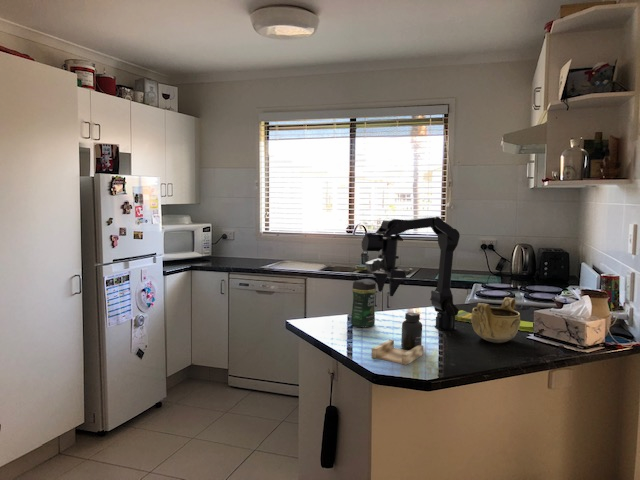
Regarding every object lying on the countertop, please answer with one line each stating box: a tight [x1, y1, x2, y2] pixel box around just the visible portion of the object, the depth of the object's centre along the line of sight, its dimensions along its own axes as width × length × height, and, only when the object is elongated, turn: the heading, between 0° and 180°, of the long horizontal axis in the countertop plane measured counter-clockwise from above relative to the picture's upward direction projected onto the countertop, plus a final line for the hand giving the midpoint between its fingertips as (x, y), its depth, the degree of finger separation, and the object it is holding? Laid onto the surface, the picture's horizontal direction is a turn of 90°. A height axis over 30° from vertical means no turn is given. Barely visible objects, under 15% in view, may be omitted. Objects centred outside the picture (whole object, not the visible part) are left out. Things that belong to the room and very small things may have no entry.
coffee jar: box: [350, 278, 377, 328], centre depth 207 cm, size 10×8×19 cm
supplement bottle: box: [400, 311, 423, 351], centre depth 177 cm, size 7×7×12 cm
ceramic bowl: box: [471, 296, 521, 344], centre depth 189 cm, size 22×17×15 cm
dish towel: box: [455, 309, 534, 332], centre depth 216 cm, size 15×36×3 cm, turn 54°
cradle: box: [371, 339, 424, 366], centre depth 169 cm, size 13×12×3 cm
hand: (385, 293), depth 195 cm, fingers open, 9 cm apart
